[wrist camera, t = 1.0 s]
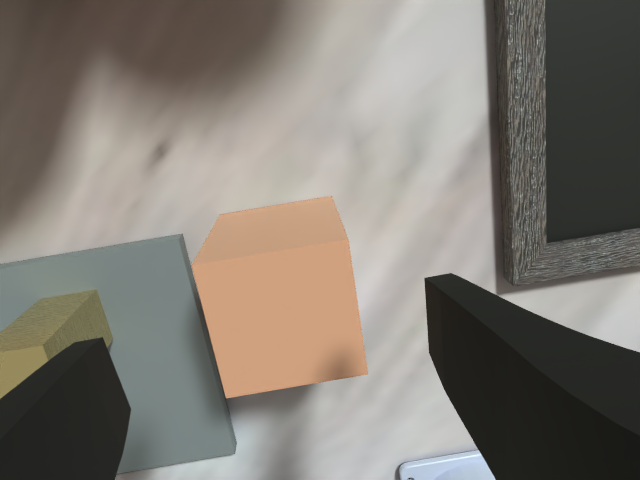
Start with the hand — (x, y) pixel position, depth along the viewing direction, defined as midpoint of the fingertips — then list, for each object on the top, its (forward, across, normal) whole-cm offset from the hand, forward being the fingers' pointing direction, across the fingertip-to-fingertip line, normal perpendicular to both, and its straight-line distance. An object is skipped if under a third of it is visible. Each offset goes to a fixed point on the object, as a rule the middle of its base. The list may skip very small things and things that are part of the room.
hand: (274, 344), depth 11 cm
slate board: (+12, +10, +7) cm, 17 cm away
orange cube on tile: (+12, 0, +3) cm, 12 cm away
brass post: (+11, +10, +4) cm, 15 cm away
